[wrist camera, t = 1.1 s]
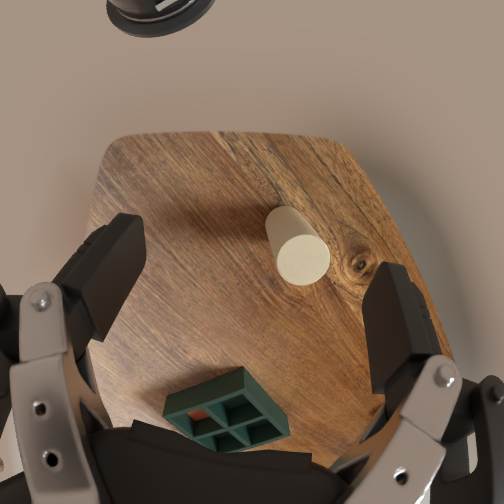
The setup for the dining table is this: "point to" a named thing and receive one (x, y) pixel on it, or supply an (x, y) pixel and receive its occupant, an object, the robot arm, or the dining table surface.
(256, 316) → the dining table surface
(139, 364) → the dining table surface
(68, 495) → the robot arm
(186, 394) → the grid
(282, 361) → the dining table surface
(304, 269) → the cylinder
